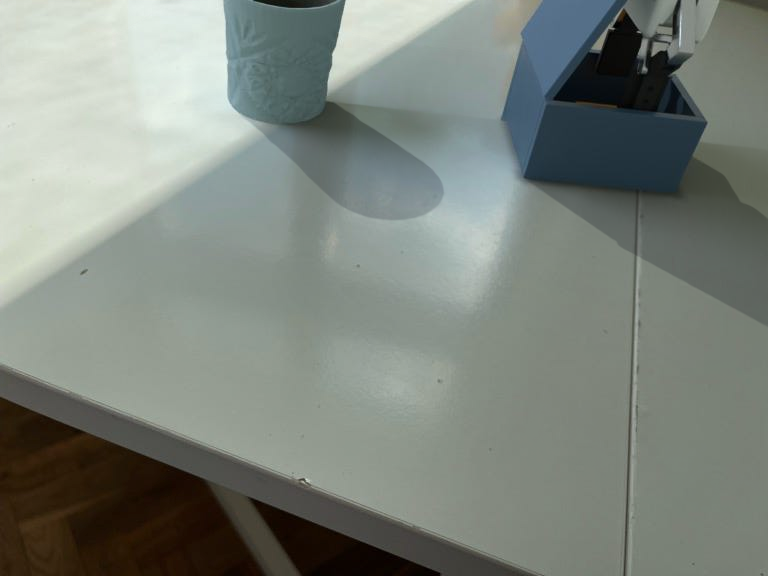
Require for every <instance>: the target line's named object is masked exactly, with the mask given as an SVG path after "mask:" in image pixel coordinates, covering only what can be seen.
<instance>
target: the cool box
mask: <svg viewBox="0 0 768 576" xmlns="http://www.w3.org/2000/svg"><path fill="white" fill-rule="evenodd" d="M600 52H601V49H594V48H591V49H590V51H589V52H588V53H587V55H586V56H585V57H584V59H583V60H582V61H581V63H580V64H579V65H578V67H577V68H576V69H575V71H574V72H573V73H572V74H571V76H570V77H569V78H568V80H567V81H566V82H565V84H564V85H563V86H562V88H561V89H560V90H559V92H558V93H557V94H556V96H555V97H554V98H553V99H552V100H550V99H548V98H546V97H544V95H543V92H542V89H541V87H540V84H539V82H538V79H537V76H536V74H535V71H534V68H533V66H532V63H531V60H530V58H529V55H528V53H527V50H526V47H525V45H524V42H523V40H522V41H521V44H520V47H519V51H518V54H517V58H516V62H515V65H514V70H513V73H512V77H511V80H510V84H509V87H508V92H507V95H506V99H505V103H504V106H503V110H502V114H501V118H500V121H502V122H506V124H507V127H508V131H509V134H510V137H511V141H512V145H513V148H514V151H515V154H516V158H517V161H518V164H519V168H520V171H521V175H522V178H523V179H526V180H527V179H528V180H537V181H538V180H539V181H549V182H559V183H567V184H577V185H586V186H587V185H588V186H596V187H597V186H598V187H606V188H607V187H609V188H616V189H617V188H618V189H627V190H637V191H645V192H646V191H648V192H655V193H656V192H657V193H667V194H675V193H676V191H677V189H678V187H679V185H680V184H681V181H682V179H683V177H684V174H685V172H686V170H687V168H688V166H689V164H690V161H691V160H692V157H693V155H694V153H695V151H696V149H697V147H698V144H699V142H700V140H701V139H702V136H703V134H704V132H705V130H706V128H707V125H708V123H709V122H708V120H707V119H706V117H705V116H704V115H703V112H702V111H701V110H700V108H699V107H698V105H697V104H696V102H695V100H694V99H693V98H692V96H691V95H690V93H689V92H688V90H687V88H686V87H685V85H684V84H683V82H682V81H681V79H680V78H679V77H678V75H677V74H676V73H675V75H674V77H673V78H672V79H670V80H669V82H668V84H667V87H666V89H665V92H664V94H663V97H662V99H661V101H660V104H659V106H658V109H657V111H656V112H650V111H642V110H633V109H624V108H615V107H607V106H598V105H589V104H580V103H575V102H576V101H578V102H587V103H596V104H605V105H613V106H617V105H618V102H619V100H620V97H621V94H622V92H623V89H624V86H625V84H626V81H627V78H628V77H618V76H609V75H601V74H597V72H596V70H595V66H596V63H597V60H598V57H599V55H600ZM652 56H653V55H652ZM652 56H651V57H652ZM638 59H639V54H638V55H637V58H636V61H635V63H634V66H633V69H637V64H638Z"/></svg>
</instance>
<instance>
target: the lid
mask: <svg viewBox="0 0 768 576" xmlns="http://www.w3.org/2000/svg"><path fill="white" fill-rule="evenodd" d="M627 1H628V0H542V1H541V2H540V4H539V5H538V7H537V8H536V10H534V13H533V14H532V15H531V17H530V18H529V20H528V21H527V23H526V24H525V25H524V27H523V28H522V30H521V31H520V33H519V34H520V36H521V39H522V41H523V42H524V45H525V47H526V50H527V53H528V55H529V58H530V60H531V63H532V66H533V68H534V71H535V74H536V76H537V79H538V82H539V84H540V87H541V89H542V92H543V95H544V97H546V98H548V99H550V100H552V99H553V98H554V97H555V96H556V94H557V93H558V92H559V90H560V89H561V88H562V86H563V85H564V84H565V82H566V81H567V80H568V78H569V77H570V76H571V74H572V73H573V72H574V71H575V69H576V68H577V67H578V65H579V64H580V63H581V61H582V60H583V59H584V57H585V56H586V55H587V53H588V52H589V51H590V49H593V47H594V46H595V44H596V43H597V41H598V40H599V39H600V38H601V36H602V35H603V34H604V32H605V31H606V30H607V28H608V27H610V26H609V24H610V23H611V22H612V20H613V19H614V18H615V16H616V15H617V14H618V13H619V11H620V10H621V9H622V7H623V6H624V5H625V3H626V2H627Z"/></svg>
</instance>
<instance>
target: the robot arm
mask: <svg viewBox="0 0 768 576" xmlns="http://www.w3.org/2000/svg"><path fill="white" fill-rule="evenodd" d="M719 3H720V0H628V1H627V2H626V3H625V5H624V6H623V7H622V9H621V10H620V11H619V13H618V14H617V15H616V16H615V18H614V19H613V20H612V22H611V23H610V24H609V26H608V27H609V28H608V29H607V31H606V34H605V37H604V40H603V43H602V46H601V48H600V50H601V52H600V55H599V57H598V60H597V63H596V66H595V70H596V72H597V74H601V75H609V76H618V77H628V78H627V81H626V84H625V86H624V89H623V92H622V94H621V97H620V100H619V102H618V105H617V108H624V109H633V110H642V111H650V112H656V111H657V109H658V106H659V104H660V101H661V99H662V97H663V94H664V92H665V89H666V87H667V84H668V82H669V80H670V79H672V78H673V77H674V75H675V74H676V73H677V71H678V70H679V69H681V67H682V66H683V65H684V63H686V62H687V61H688V60H690V58H692V57H693V56H694V54H695V50H696V45H698V44H701V42H702V41H703V40H704V39H705V37H706V35H707V33H708V30H709V28H710V25H711V24H712V21H713V18H714V16H715V14H716V11H717V8H718V5H719ZM658 27H662V28H663V27H664V28H670V29H672V30H671V34H669V33H668V34H667V33H661V32H660V33H659V32H658V31H657V30H658ZM655 43H658V44H667V46H666V49H665V50H659V51H658V52H656V53H655V54H653V50H654V46H655ZM637 55H639V59H638V64H637V69H633V66H634V63H635V61H636V58H637ZM651 56H652V57H651Z"/></svg>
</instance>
